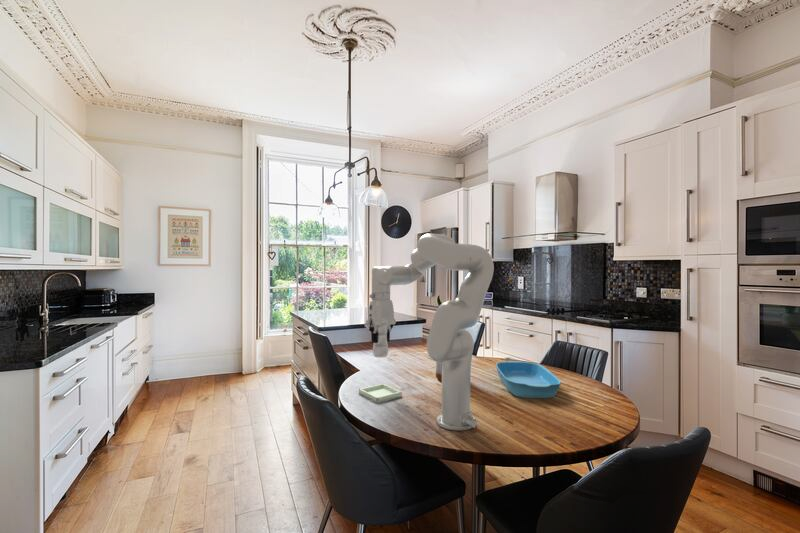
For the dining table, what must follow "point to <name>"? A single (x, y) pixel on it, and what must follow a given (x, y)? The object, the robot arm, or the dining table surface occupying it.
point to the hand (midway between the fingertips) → (380, 341)
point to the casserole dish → (528, 379)
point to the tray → (380, 393)
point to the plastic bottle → (381, 341)
